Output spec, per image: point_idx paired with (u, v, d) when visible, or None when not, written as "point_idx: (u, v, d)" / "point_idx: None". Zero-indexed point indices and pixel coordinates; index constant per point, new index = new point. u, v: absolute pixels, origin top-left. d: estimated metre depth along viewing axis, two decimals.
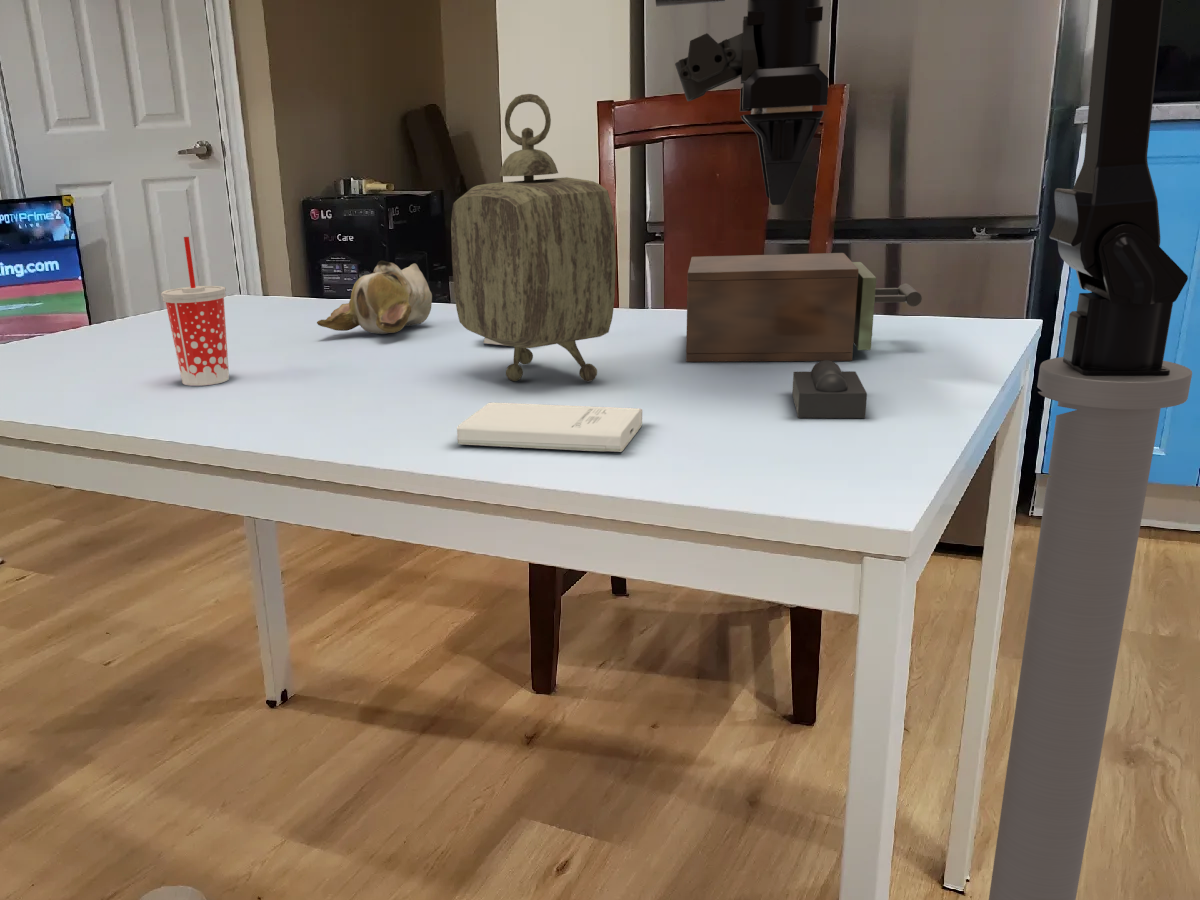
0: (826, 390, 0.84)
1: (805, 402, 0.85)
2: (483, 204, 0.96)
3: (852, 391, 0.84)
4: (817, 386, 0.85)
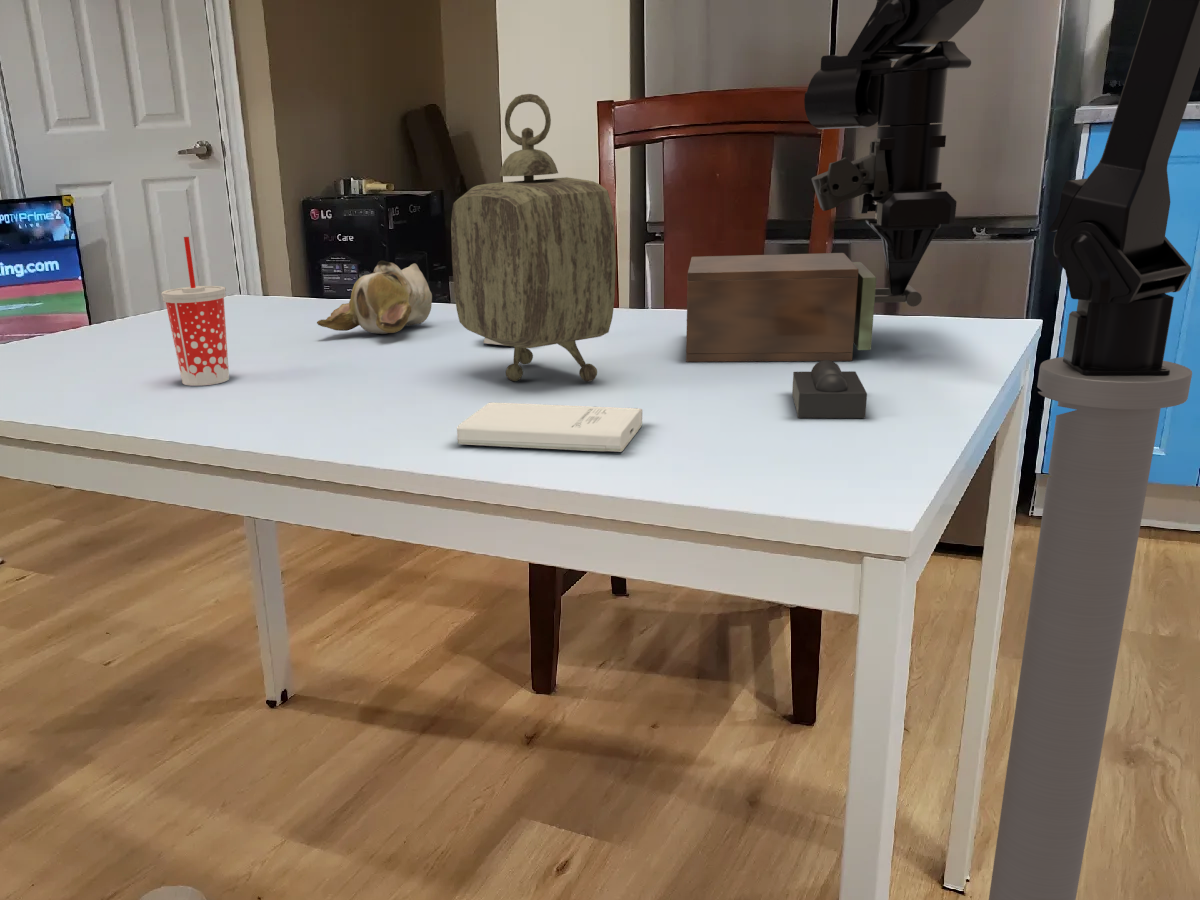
0: (826, 390, 0.84)
1: (805, 402, 0.85)
2: (483, 204, 0.96)
3: (852, 391, 0.84)
4: (817, 386, 0.85)
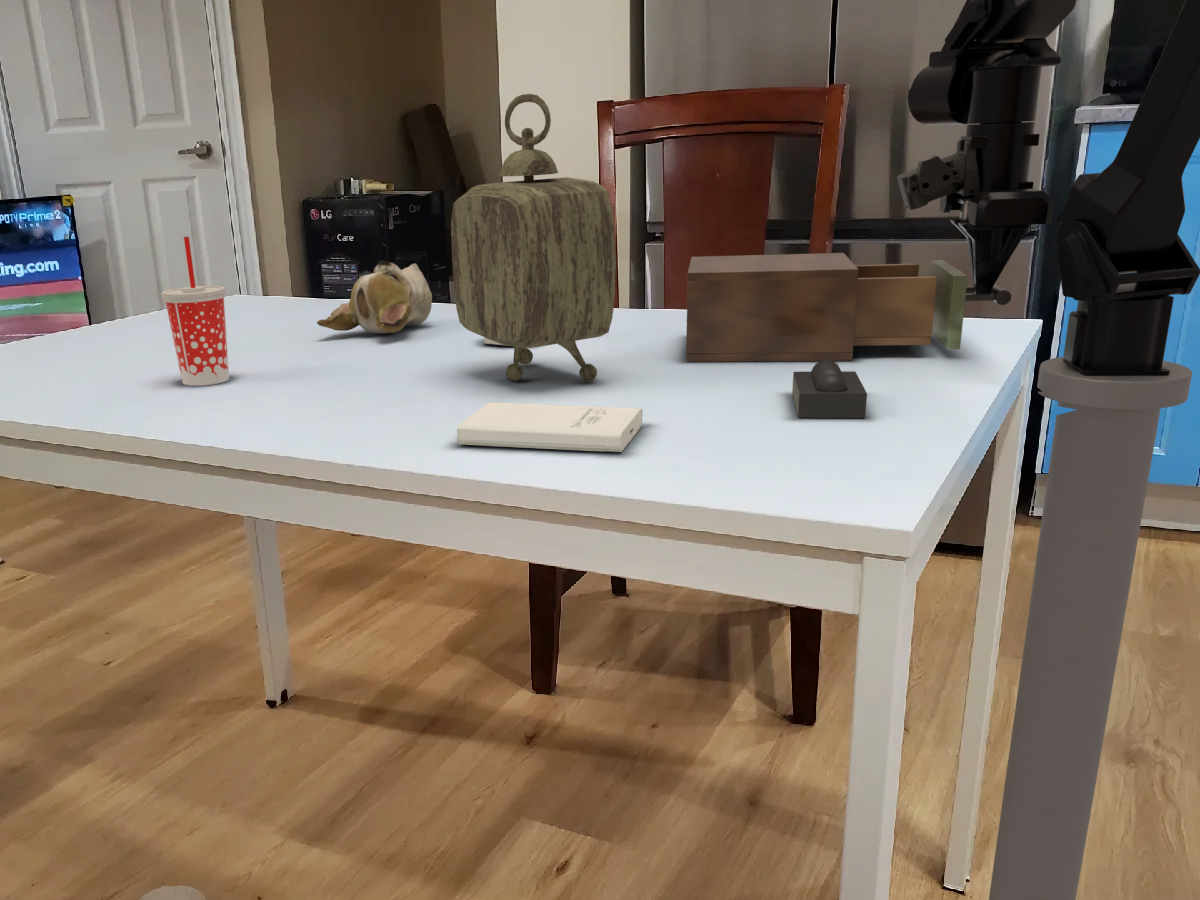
0: (826, 390, 0.84)
1: (805, 402, 0.85)
2: (483, 204, 0.96)
3: (852, 391, 0.84)
4: (817, 386, 0.85)
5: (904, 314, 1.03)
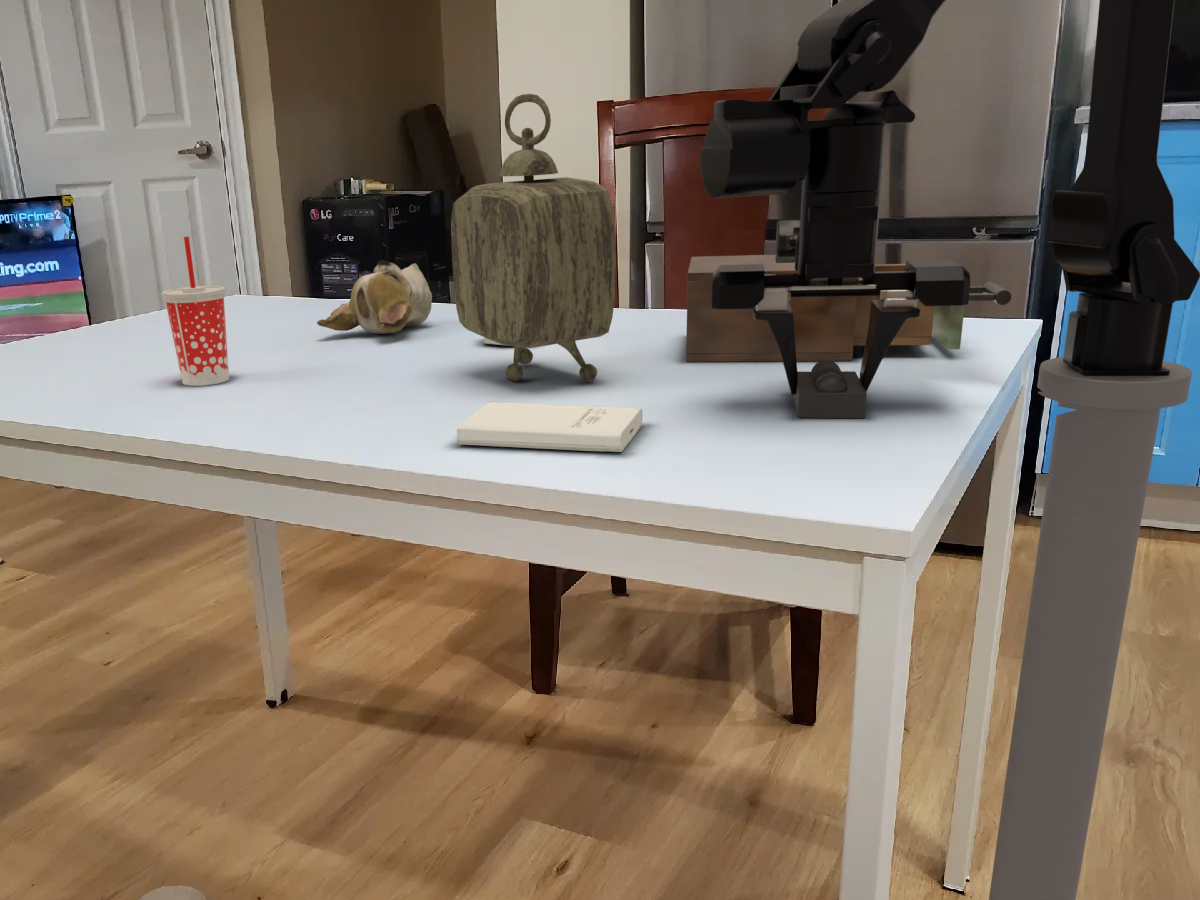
0: (826, 390, 0.84)
1: (805, 402, 0.85)
2: (483, 204, 0.96)
3: (852, 391, 0.84)
4: (817, 386, 0.85)
5: None
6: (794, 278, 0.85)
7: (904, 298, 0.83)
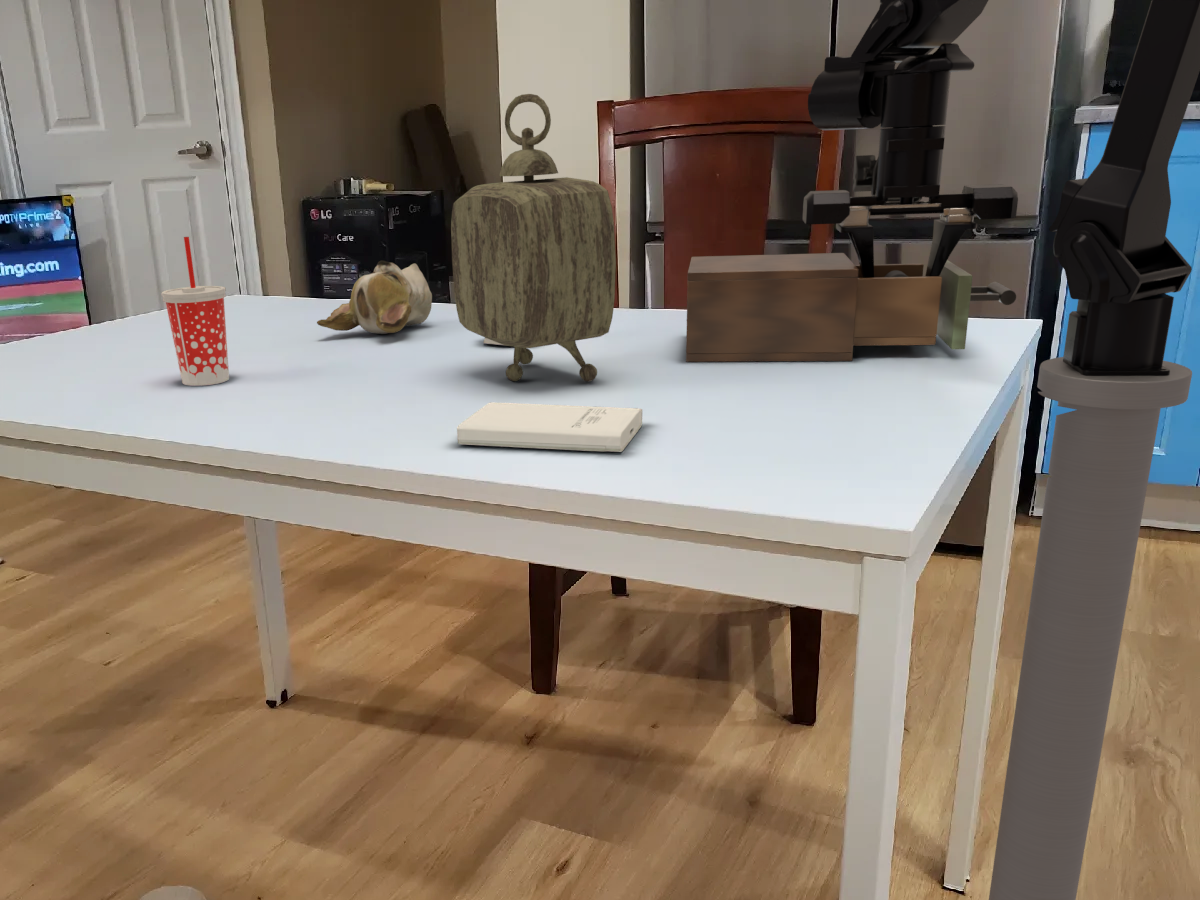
0: None
1: None
2: (483, 204, 0.96)
3: None
4: None
5: (909, 314, 1.03)
6: (872, 199, 1.05)
7: (963, 214, 1.03)
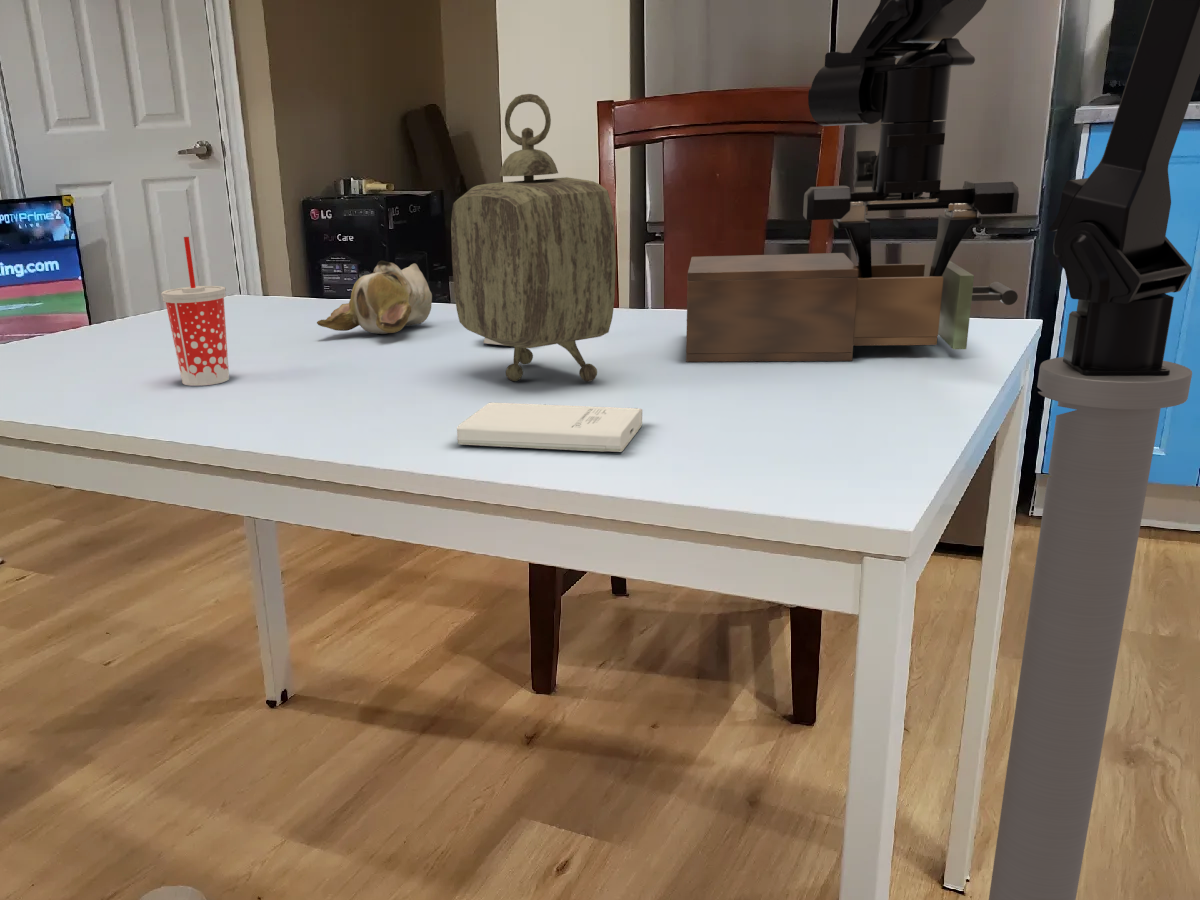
0: None
1: None
2: (483, 204, 0.96)
3: None
4: None
5: (910, 314, 1.03)
6: (873, 195, 1.05)
7: (968, 209, 1.03)
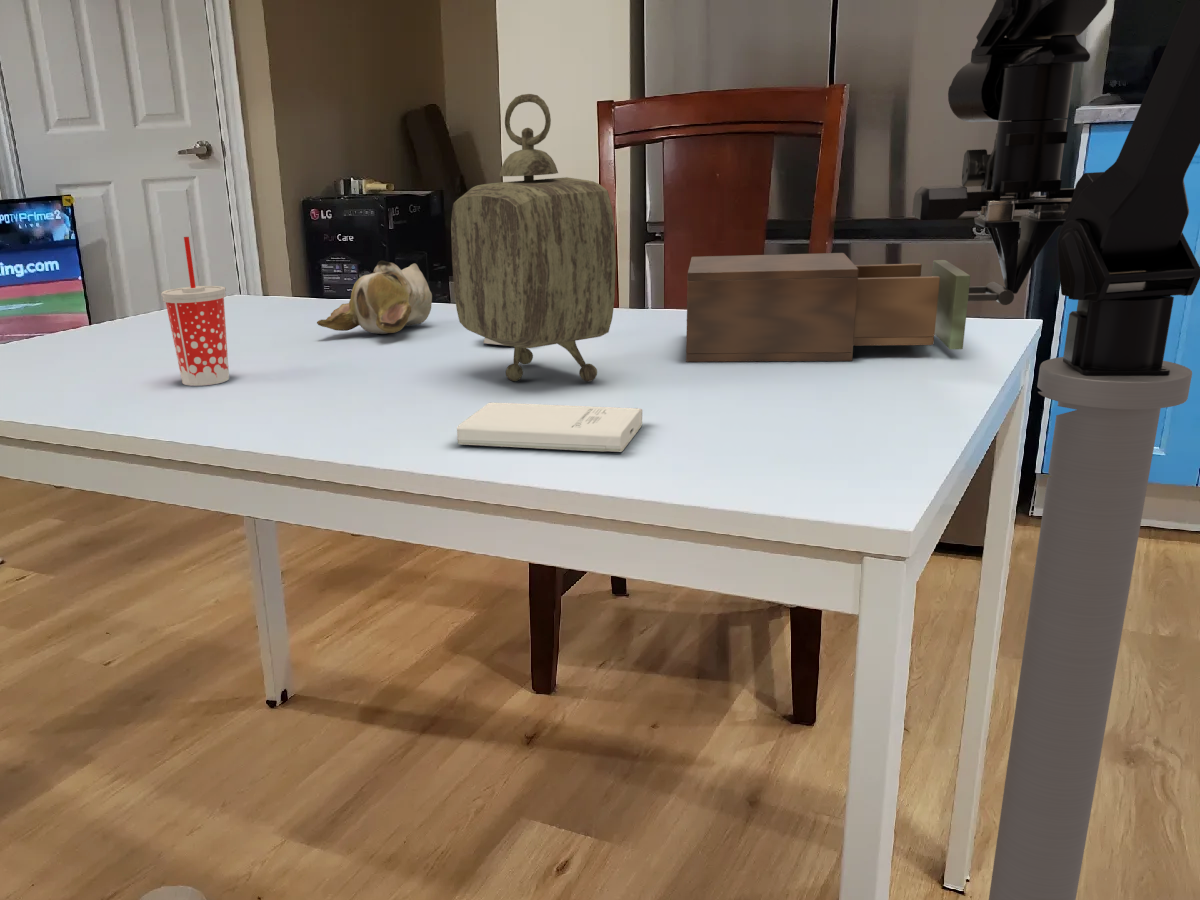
0: None
1: None
2: (483, 204, 0.96)
3: None
4: None
5: (906, 314, 1.03)
6: (988, 194, 1.03)
7: (1054, 210, 1.01)
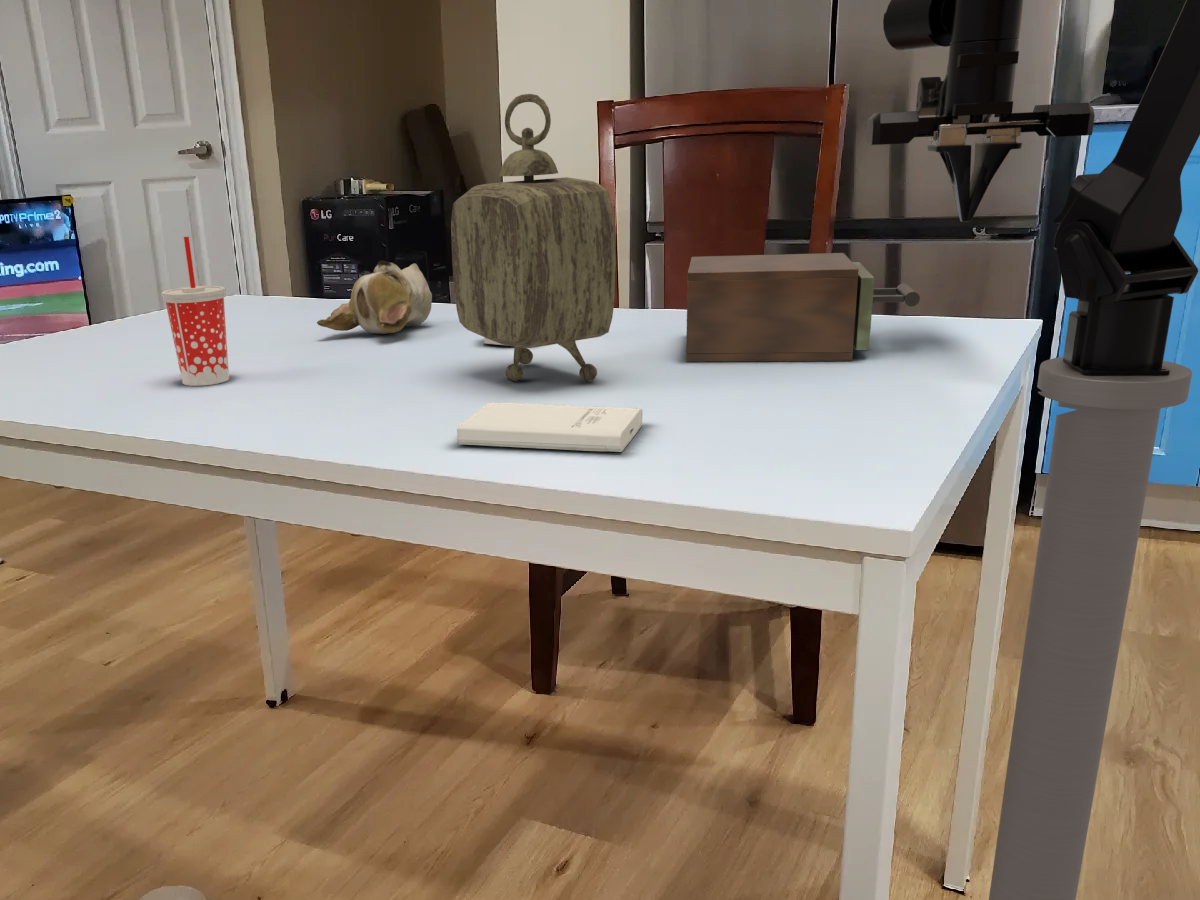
0: None
1: None
2: (483, 204, 0.96)
3: None
4: None
5: None
6: (941, 119, 1.01)
7: (1007, 134, 1.00)
